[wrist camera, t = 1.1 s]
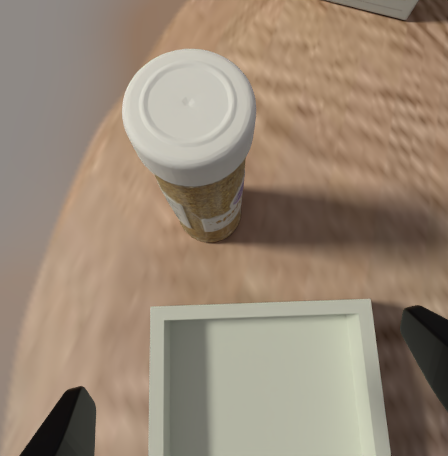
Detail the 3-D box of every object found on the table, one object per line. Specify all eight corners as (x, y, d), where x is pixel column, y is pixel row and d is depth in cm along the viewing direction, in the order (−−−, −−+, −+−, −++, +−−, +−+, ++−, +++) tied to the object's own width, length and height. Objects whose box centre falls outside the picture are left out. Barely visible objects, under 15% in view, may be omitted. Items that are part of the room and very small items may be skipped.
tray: (378, 524, 19) (405, 563, 17) (158, 531, 20) (146, 572, 17) (351, 299, 22) (370, 298, 19) (160, 306, 22) (150, 306, 19)
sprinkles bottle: (240, 244, 23) (256, 168, 10) (175, 242, 23) (110, 164, 10) (241, 183, 24) (258, 43, 11) (180, 181, 24) (125, 40, 11)
